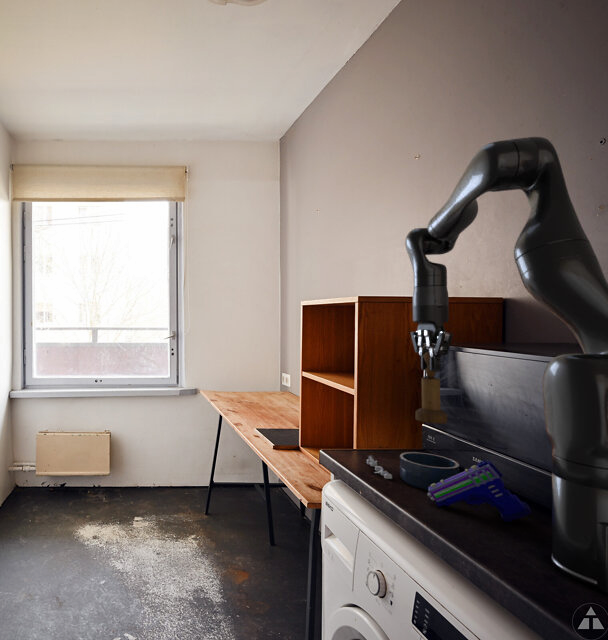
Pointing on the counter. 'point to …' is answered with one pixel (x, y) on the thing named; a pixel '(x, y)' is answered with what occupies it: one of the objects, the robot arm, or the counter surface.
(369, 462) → the figurines set
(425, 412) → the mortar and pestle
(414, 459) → the blue bowl
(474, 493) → the toy gun
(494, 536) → the counter surface
